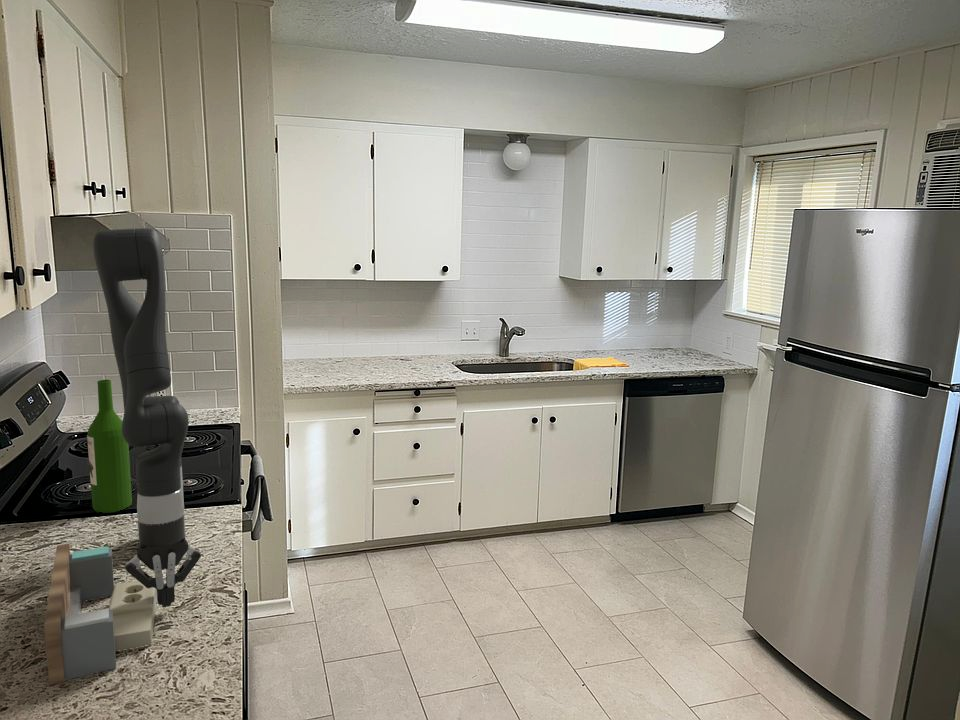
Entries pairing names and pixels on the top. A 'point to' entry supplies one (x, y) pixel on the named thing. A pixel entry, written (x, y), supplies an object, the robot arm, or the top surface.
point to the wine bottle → (108, 457)
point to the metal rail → (74, 600)
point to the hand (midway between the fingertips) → (166, 605)
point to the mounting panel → (57, 613)
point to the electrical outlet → (133, 614)
